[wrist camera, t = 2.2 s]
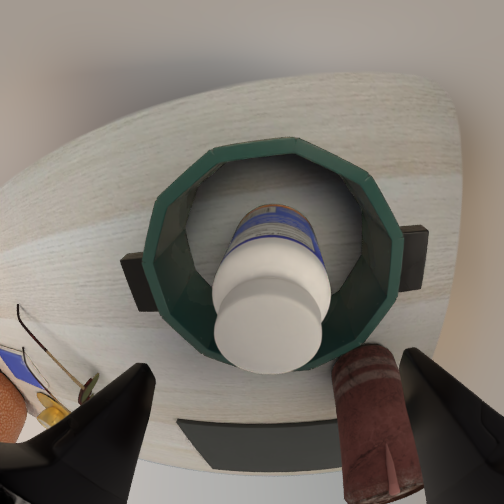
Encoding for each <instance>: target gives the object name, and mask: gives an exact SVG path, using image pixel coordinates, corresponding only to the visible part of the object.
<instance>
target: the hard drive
mask: <svg viewBox="0 0 504 504" xmlns="http://www.w3.org/2000/svg"><path fill="white" fill-rule="evenodd" d="M0 356H1V358H2V359H3V361H4V362H5V363H6V365H7V366H8V368H9V369H10V370H11V372H12V373H13V374H14V376H15V377H16V378H18V379H21V380H23V381H25V382H27V383H29V384H32V385H34V386H36V387H39V388H41V389H44V388H43V387H42V386H41V385H40V384H39V382H38V381H37V380H36V379H35V378H34V377H33V375H32V374H31V373H30V371H29V370H28V368H27V367H26V365H25V362H24V357H23V352H21V351H17V350H14V349H10V348H7V347H4V346H1V345H0ZM25 359H26V363H27V365H28V367H29V368H30V370H31V371H32V372H33V374H34V375H35V376H36V377H37V379H38V380H39V381H40V382H41V383H42V384H43V385H44V386H45V387H46V389H48V387H49V385H48V383H47V382H46V380H45V379H44V378H43V377H42V375H41V374H40V373H39V371H38V370H37V369H36V367H35V366H34V364H33V363H32V362H31V360H30V359H29V357H28V356H27V354H26V353H25ZM44 390H45V389H44Z"/></svg>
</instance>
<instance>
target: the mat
mask: <svg viewBox="0 0 504 504" xmlns="http://www.w3.org/2000/svg"><path fill="white" fill-rule="evenodd" d="M176 423H177V424H178V425H179V427H180V428H181V430H182V431H183V432H184V434H185V435H186V436H187V438H188V439H189V440H190V442H191V443H192V444H193V446H194V447H195V448H196V449H197V451H198V452H199V453H200V454H201V456H202V457H203V458H204V459H205V460H206V462H207V463H208V464H209V465H210V466H211V468H212V469H218V470H229V471H244V472H297V471H311V470H322V469H331V468H339V467H342V461H341V450H340V439H339V430H338V421H337V419H335V420H326V421H317V422H305V423H289V424H226V423H210V422H199V421H189V420H181V419H177V422H176Z"/></svg>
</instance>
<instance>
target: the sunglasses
mask: <svg viewBox="0 0 504 504" xmlns="http://www.w3.org/2000/svg"><path fill="white" fill-rule="evenodd" d="M17 317H18V320H19V322H20V323H21V325H22V326H23V327H24V329H25V330H26V331H27V332H28V333H29V335H30V336H31V337H32V338H33V339H34V340H35V341H36V342H37V343H38V344H39V346H40V347H41V348H42V349H43V350H44V351H45V352H46V353H47V354H48V355H49V356H50V357H51V358H52V359H53V360H54V361H55V362H56V363H57V364H58V365H59V366H60V367H61V368H62V369H63V370H64V371H65V372H66V374H67V375H68V376H69V377H70V378H71V379H72V380H73V381H74V382H75V383H76V384H77V385H78V386H79V387H81V389H80V393H79V397H78V403H79V404H80V405H82V404H83V403H85V402H86V401H87V400H89V399H90V398H91V397H93V396H94V394H92V395H91V396H89V395H90V394H91V392H92V389H93V388H94V386H95V384H96V382H97V380H98V378H99V373H97V374H96V375H95V376H94V377H93V379H92V378H90V379H89V380H88V381H87V383H86V384H85V385H84V386H83V385H82V384H81V383H80V382H79V381H78V380H77V379H76V378H75V377H73V376H72V375H71V374H70V373H69V372H68V371H67V370H66V369H65V368H64V367H63V366H62V365H61V364H60V363H59V362H58V361H57V360H56V359H55V358H54V357H53V356H52V354H51V353H50V352H49V351H48V350H47V349H46V348H45V347H44V346H43V345H42V344H41V343H40V342H39V341H38V340H37V339H36V337H35V336H34V335H33V334H32V333H31V332H30V331H29V330H28V328H27V327H26V326H25V325H24V324H23V322H22V321H21V319H20V316H19V304H17ZM22 350H23V357H24V362H25V365H26V367H27V368H28V370H29V371H30V373H31V374H32V375H33V377H34V378H35V379H36V380H37V381H38V382H39V384H40V385H41V386H42V387H43V388H44V389H45V390H46V391H47V392H48V393H49V394H50V395H51V396H52V397H53V398H54V399H55V400H56V401H57V402H58V403H59V404H60V405H61V406H62V407H63V408H64V409H65V410H66V411H67V412H68V413H69V414H70V413H71V412H70V411H69V410H68V409H66V408H65V407H64V406H63V405H62V404H61V403H60V402H59V401H58V400H57V399H56V398H55V397H54V396H53V395H52V394H51V393H50V392H49V391H48V390H47V389H46V387H45V386H44V385H43V384H42V383H41V382H40V381H39V380H38V379H37V377H36V376H35V375H34V374H33V372H32V371H31V370H30V368H29V367H28V365H27V363H26V359H25V353H24V347H22Z"/></svg>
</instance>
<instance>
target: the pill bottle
mask: <svg viewBox="0 0 504 504" xmlns="http://www.w3.org/2000/svg"><path fill="white" fill-rule="evenodd" d="M212 298H213V304H214V307H215V310H216V313H217V319H216V322H215V327H214V338H215V342H216V345H217V347H218V349H219V350H220V352H221V353H222V355H223V356H224V357H225V358H226V359H227V360H228V361H230V362H231V363H232V364H234V365H235V366H237V367H239V368H241V369H243V370H246V371H249V372H253V373H258V374H281V373H287V372H290V371H293V370H295V369H298V368H300V367H301V366H303V365H305V364H306V363H307V362H309V361H310V360H311V359H312V358H313V357H314V355H315V354H316V353H317V351H318V349H319V347H320V344H321V339H322V327H321V322H322V321H323V320H324V318H325V316H326V314H327V312H328V309H329V305H330V300H331V288H330V282H329V279H328V275H327V272H326V268H325V265H324V262H323V259H322V256H321V253H320V249H319V246H318V243H317V240H316V236H315V234H314V231H313V229H312V227H311V225H310V223H309V221H308V220H307V219H306V218H305V217H304V216H303V215H302V214H301V213H300V212H298V211H297V210H295V209H293V208H291V207H288V206H285V205H280V204H269V205H263V206H260V207H258V208H256V209H254V210H252V211H251V212H249V213H248V214H247V215H246V216H245V217H244V218H243V220H242V221H241V222H240V224H239V226H238V228H237V230H236V232H235V234H234V237H233V239H232V241H231V243H230V245H229V247H228V249H227V252H226V254H225V256H224V258H223V260H222V262H221V264H220V266H219V269H218V271H217V273H216V276H215V278H214V282H213V287H212Z"/></svg>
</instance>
